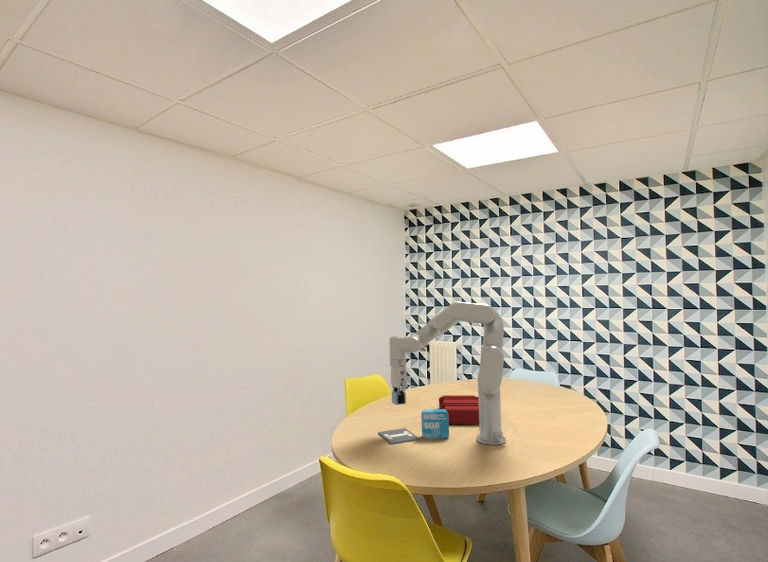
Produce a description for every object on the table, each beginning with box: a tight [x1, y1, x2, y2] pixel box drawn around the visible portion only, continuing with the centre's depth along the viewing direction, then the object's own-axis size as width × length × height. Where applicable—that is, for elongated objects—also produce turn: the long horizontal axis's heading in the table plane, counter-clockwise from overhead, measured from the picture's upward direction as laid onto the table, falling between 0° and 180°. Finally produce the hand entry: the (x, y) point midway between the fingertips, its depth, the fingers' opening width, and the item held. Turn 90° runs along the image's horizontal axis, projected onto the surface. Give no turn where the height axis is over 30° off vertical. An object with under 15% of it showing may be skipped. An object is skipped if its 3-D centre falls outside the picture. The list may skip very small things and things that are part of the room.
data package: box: [420, 408, 450, 440], centre depth 179 cm, size 12×4×12 cm, turn 89°
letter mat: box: [377, 427, 420, 445], centre depth 181 cm, size 16×14×1 cm
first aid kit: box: [438, 394, 479, 425], centre depth 211 cm, size 32×23×9 cm
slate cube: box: [391, 391, 407, 406], centre depth 183 cm, size 5×5×5 cm
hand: (398, 401), depth 183 cm, fingers closed on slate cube, 4 cm apart
